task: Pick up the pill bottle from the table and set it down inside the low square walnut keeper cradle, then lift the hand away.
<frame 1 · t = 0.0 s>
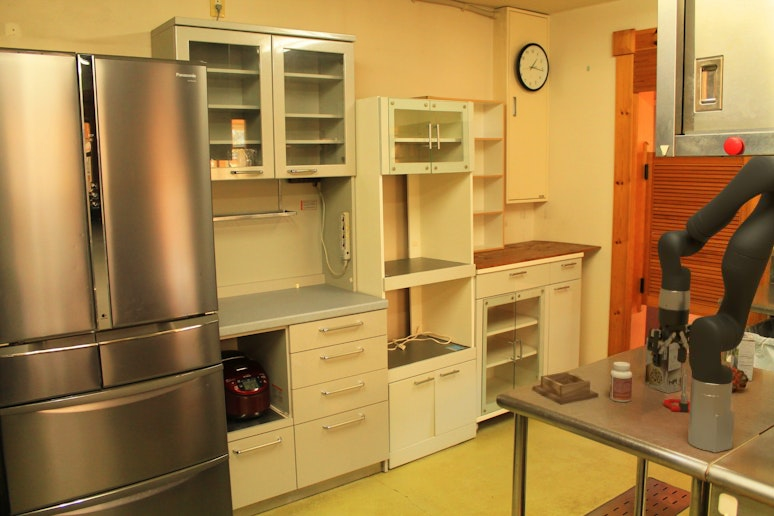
hand: (669, 364, 175), 17 cm above the table, tool pointing down, fingers open, 8 cm apart
syrup box: (740, 378, 215), on the table
coffee box: (662, 388, 207), on the table
dragon fruit: (726, 390, 204), on the table
keeper cradle: (564, 393, 203), on the table
tow hook: (679, 407, 191), on the table
pill bottle: (620, 399, 198), on the table
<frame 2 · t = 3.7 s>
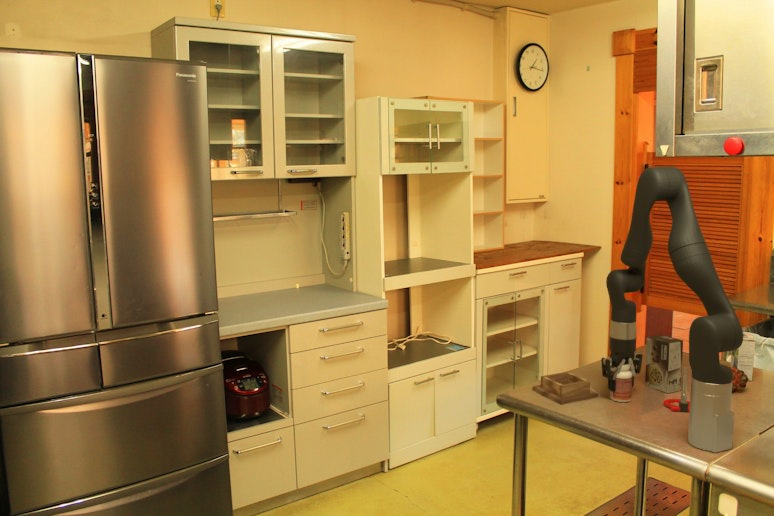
hand: (620, 389, 197), 3 cm above the table, tool pointing down, fingers closed on pill bottle, 6 cm apart
pill bottle: (620, 399, 198), on the table, touching gripper
everything else where it was.
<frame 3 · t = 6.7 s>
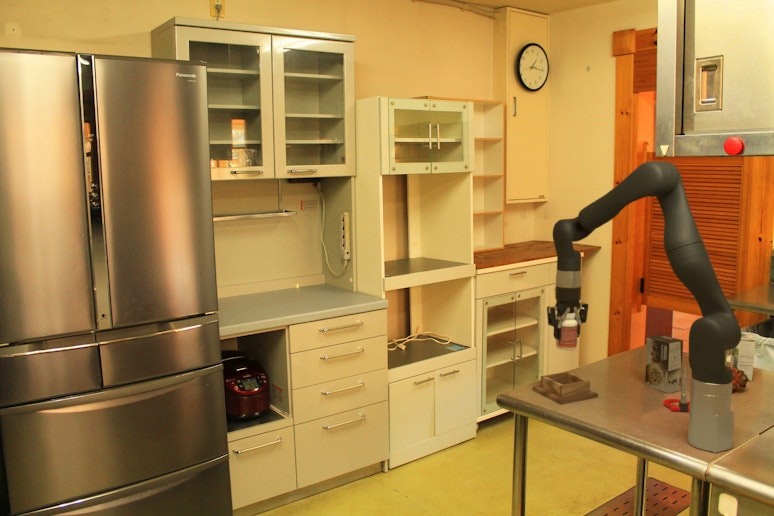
hand: (566, 337, 201), 18 cm above the table, tool pointing down, fingers closed on pill bottle, 6 cm apart
pill bottle: (566, 348, 201), point 14 cm above the table, touching gripper
everything else where it was.
when the fingers open (7 cm above the table, at t = 9.6 s): pill bottle drops 3 cm, resting on keeper cradle.
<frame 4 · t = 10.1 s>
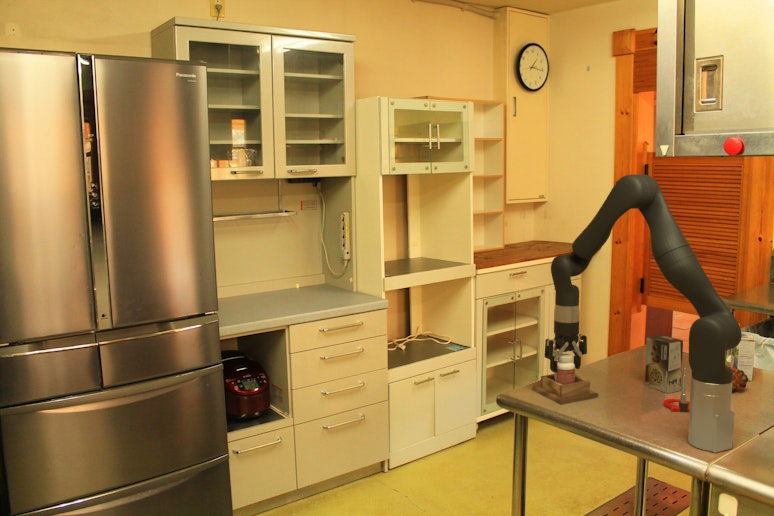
hand: (565, 370, 202), 8 cm above the table, tool pointing down, fingers open, 8 cm apart
pill bottle: (564, 390, 203), point 1 cm above the table, touching keeper cradle
everything else where it was.
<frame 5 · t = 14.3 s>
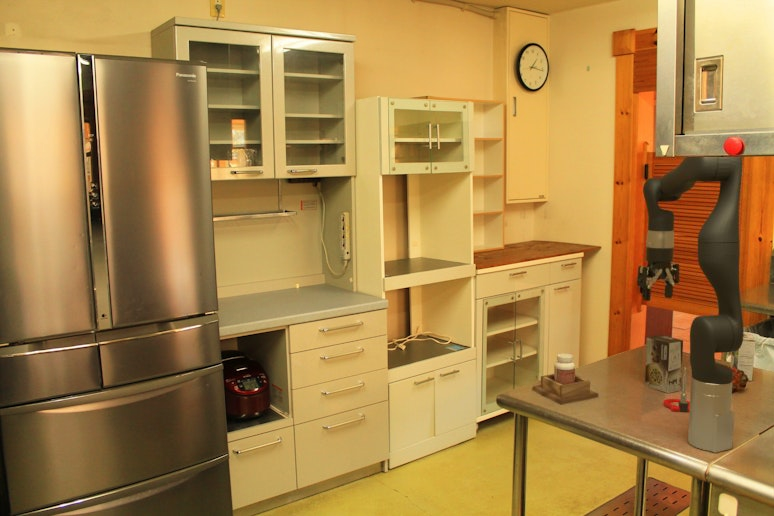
hand: (657, 299, 196), 30 cm above the table, tool pointing down, fingers open, 8 cm apart
nothing on the table moved.
at the end: pill bottle 0.4 cm off-centre on the keeper cradle, point 1.0 cm above the keeper cradle's base; pill bottle tilted 0°; the gripper is holding nothing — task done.
